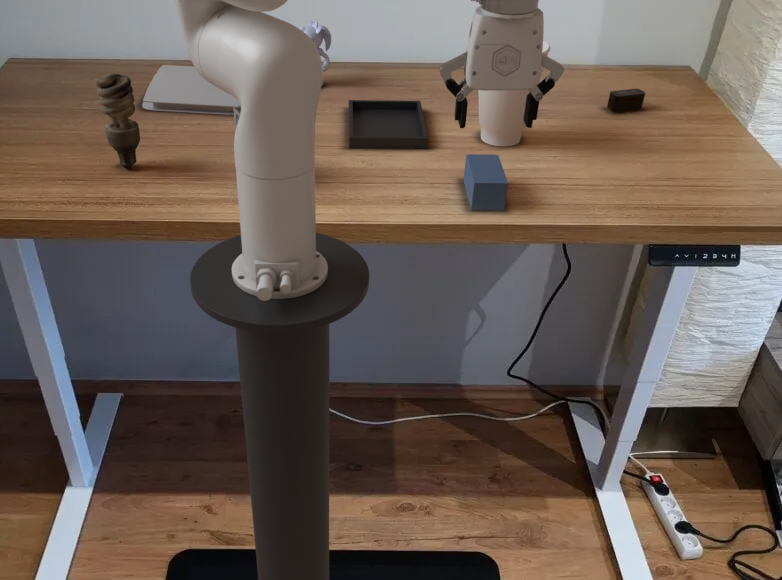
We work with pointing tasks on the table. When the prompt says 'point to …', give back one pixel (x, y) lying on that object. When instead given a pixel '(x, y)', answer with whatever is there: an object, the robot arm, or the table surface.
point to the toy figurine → (319, 40)
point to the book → (186, 93)
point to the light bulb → (119, 116)
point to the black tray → (386, 124)
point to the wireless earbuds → (626, 100)
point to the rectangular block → (485, 182)
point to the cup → (504, 113)
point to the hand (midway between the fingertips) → (494, 124)
